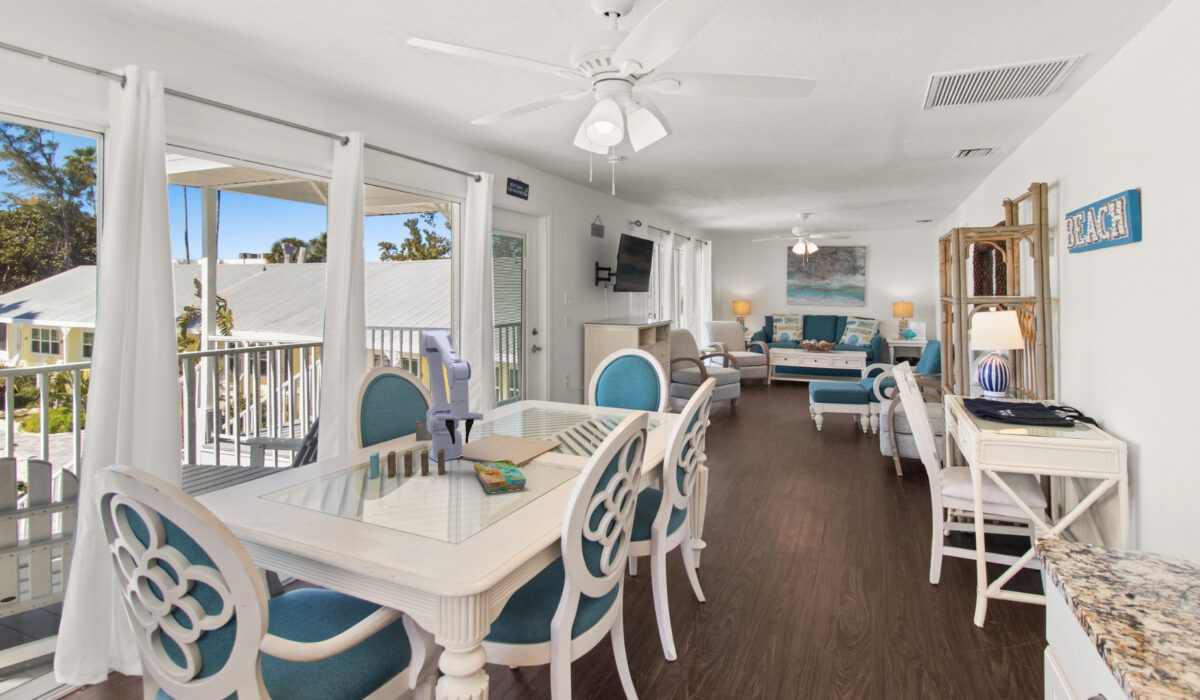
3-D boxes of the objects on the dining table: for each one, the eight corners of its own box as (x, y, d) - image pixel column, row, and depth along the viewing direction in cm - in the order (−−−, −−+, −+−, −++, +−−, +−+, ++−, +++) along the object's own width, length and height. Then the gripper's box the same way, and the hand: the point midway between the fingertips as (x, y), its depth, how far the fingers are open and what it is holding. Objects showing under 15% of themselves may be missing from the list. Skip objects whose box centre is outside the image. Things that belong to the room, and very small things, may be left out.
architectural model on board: (447, 438, 228) (446, 414, 227) (446, 440, 225) (446, 416, 224) (417, 440, 226) (416, 415, 225) (416, 442, 223) (415, 417, 222)
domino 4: (428, 471, 186) (428, 449, 185) (426, 475, 182) (426, 453, 181) (423, 471, 186) (422, 450, 185) (421, 475, 182) (420, 453, 181)
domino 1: (379, 473, 184) (378, 451, 183) (376, 477, 179) (375, 455, 179) (374, 473, 184) (373, 451, 183) (370, 478, 179) (369, 455, 179)
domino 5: (444, 470, 187) (444, 449, 186) (443, 474, 183) (442, 453, 182) (439, 470, 187) (439, 449, 186) (438, 475, 182) (437, 453, 182)
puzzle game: (484, 480, 164) (473, 460, 183) (485, 496, 165) (473, 475, 183) (525, 475, 168) (510, 456, 187) (525, 491, 169) (510, 471, 187)
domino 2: (396, 472, 185) (395, 451, 184) (393, 477, 180) (392, 455, 180) (390, 472, 184) (390, 451, 184) (387, 477, 180) (387, 455, 179)
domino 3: (412, 471, 185) (411, 450, 185) (410, 476, 181) (409, 454, 180) (407, 472, 185) (406, 450, 184) (404, 476, 181) (404, 454, 180)
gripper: (433, 403, 178) (435, 447, 179) (482, 402, 180) (483, 445, 182) (436, 399, 185) (437, 441, 186) (483, 398, 187) (484, 439, 189)
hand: (460, 442), depth 184 cm, fingers open, 3 cm apart
